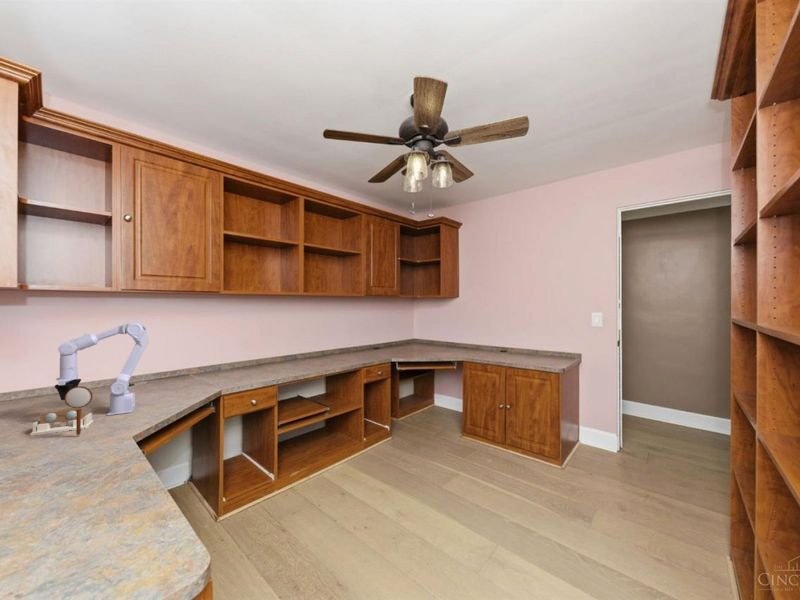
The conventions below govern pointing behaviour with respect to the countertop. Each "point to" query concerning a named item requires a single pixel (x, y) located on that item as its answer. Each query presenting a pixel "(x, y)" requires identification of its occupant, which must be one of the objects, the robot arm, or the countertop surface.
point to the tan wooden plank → (60, 415)
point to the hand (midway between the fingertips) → (68, 397)
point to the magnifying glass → (78, 402)
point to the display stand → (59, 426)
